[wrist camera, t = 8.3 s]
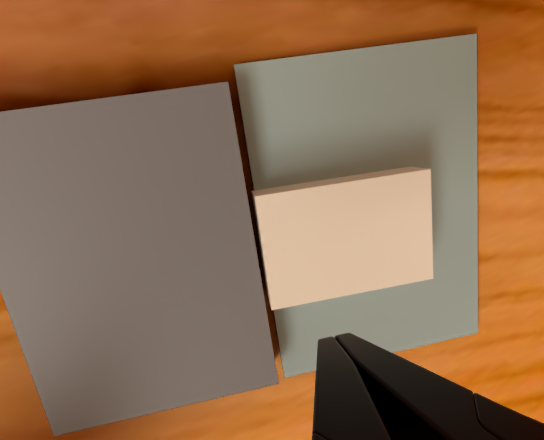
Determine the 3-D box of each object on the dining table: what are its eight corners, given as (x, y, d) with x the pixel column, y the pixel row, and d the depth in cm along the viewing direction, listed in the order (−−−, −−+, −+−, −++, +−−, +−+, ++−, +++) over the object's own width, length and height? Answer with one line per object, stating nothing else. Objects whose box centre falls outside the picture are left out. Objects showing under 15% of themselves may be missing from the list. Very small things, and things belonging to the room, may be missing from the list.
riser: (273, 361, 21) (278, 383, 19) (70, 407, 20) (53, 436, 18) (227, 88, 17) (228, 81, 15) (-28, 122, 16) (-63, 119, 14)
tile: (409, 166, 19) (430, 168, 17) (413, 265, 20) (433, 278, 18) (251, 190, 18) (254, 196, 16) (266, 293, 19) (271, 310, 17)
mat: (473, 329, 23) (478, 333, 22) (283, 373, 21) (284, 378, 21) (471, 35, 18) (476, 33, 18) (233, 66, 17) (234, 64, 17)
